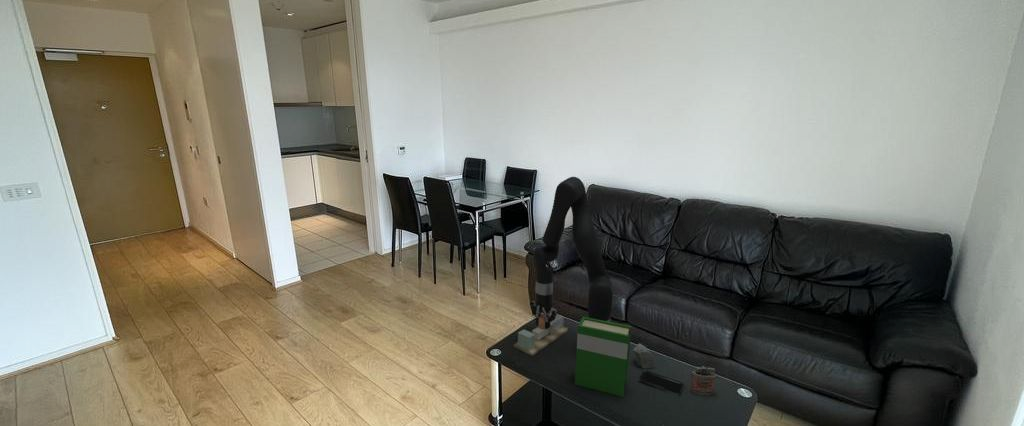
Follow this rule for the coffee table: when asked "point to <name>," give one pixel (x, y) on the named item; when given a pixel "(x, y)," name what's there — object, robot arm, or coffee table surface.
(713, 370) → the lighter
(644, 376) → the phone
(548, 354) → the coffee table surface
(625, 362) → the hardback book
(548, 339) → the oak base
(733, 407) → the coffee table surface
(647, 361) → the mineral specimen
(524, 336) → the sage socket
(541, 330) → the tube
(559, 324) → the aluminium sleeve
